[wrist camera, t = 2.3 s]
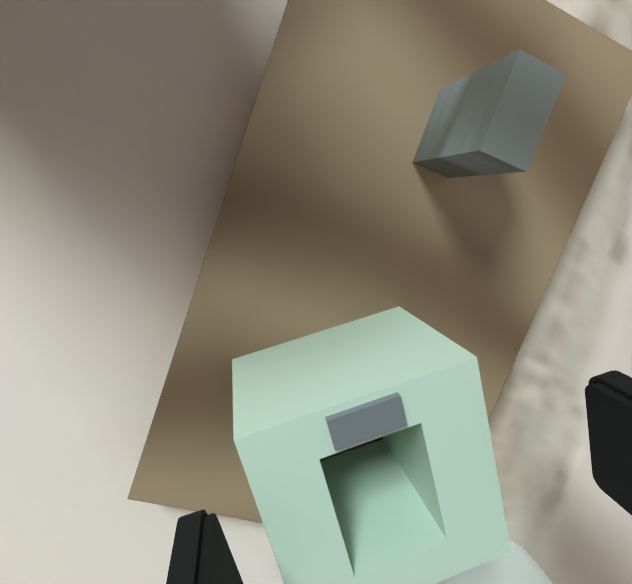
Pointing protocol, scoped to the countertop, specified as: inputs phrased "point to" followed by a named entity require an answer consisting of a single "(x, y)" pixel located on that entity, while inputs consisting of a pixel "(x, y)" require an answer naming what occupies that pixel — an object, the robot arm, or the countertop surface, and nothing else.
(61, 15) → the countertop surface
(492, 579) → the base with upright slab
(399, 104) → the base plate
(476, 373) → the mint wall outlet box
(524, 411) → the countertop surface
